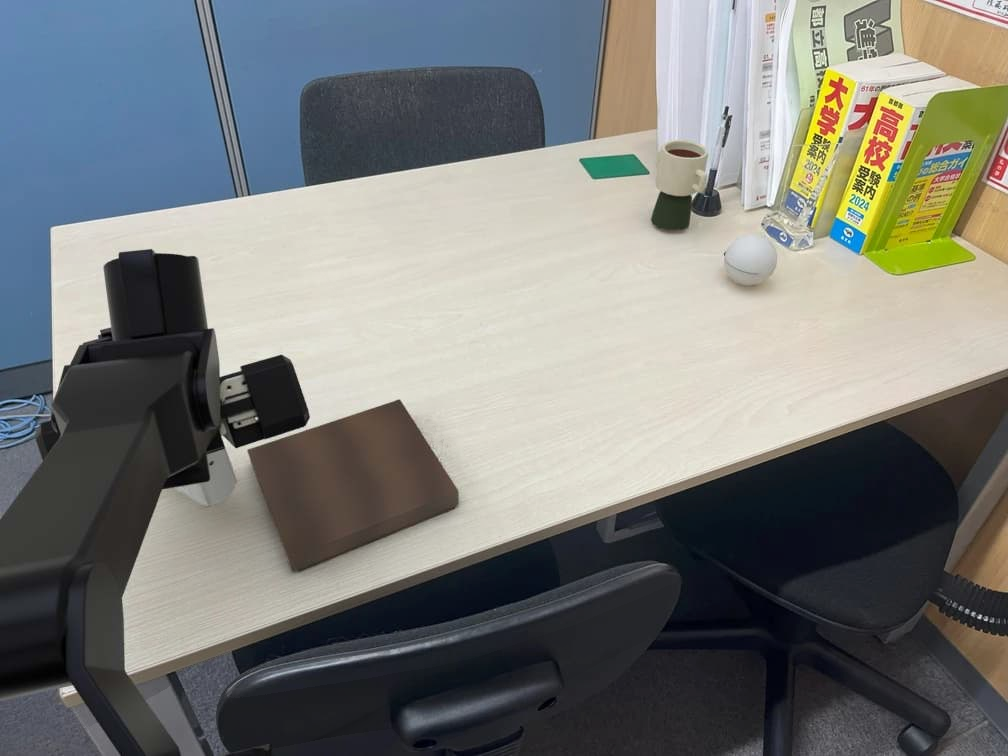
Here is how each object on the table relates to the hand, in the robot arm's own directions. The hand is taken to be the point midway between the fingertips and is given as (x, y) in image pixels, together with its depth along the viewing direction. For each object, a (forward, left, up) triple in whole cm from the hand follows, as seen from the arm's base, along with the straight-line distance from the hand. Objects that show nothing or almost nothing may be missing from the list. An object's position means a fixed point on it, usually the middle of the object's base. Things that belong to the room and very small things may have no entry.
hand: (187, 431), depth 63 cm
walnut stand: (+13, -3, -11) cm, 17 cm away
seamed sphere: (+76, +8, -11) cm, 77 cm away
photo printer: (-1, +2, -8) cm, 8 cm away
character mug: (+78, +26, -11) cm, 83 cm away
